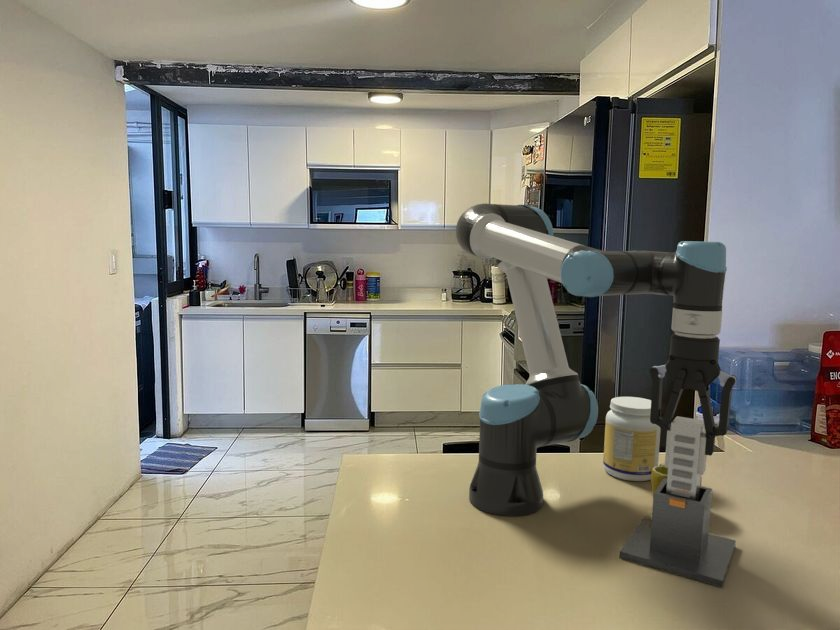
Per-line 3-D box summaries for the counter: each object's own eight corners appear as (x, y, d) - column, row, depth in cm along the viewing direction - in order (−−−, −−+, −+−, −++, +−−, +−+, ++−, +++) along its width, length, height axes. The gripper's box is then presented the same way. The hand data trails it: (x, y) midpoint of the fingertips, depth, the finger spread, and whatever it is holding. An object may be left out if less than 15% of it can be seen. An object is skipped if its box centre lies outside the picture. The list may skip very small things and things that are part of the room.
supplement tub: (612, 459, 154) (616, 392, 152) (663, 471, 147) (668, 401, 145) (594, 474, 145) (598, 403, 142) (648, 487, 138) (653, 412, 135)
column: (661, 547, 108) (670, 423, 105) (668, 535, 112) (676, 416, 109) (690, 554, 105) (700, 428, 103) (695, 542, 110) (705, 420, 107)
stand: (619, 557, 107) (623, 495, 106) (642, 522, 120) (646, 466, 119) (722, 588, 98) (728, 520, 97) (735, 546, 112) (740, 486, 110)
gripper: (635, 331, 106) (626, 464, 109) (752, 343, 96) (739, 488, 99) (646, 326, 112) (637, 452, 115) (757, 337, 103) (745, 473, 106)
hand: (684, 468), depth 107 cm, fingers closed on column, 5 cm apart
